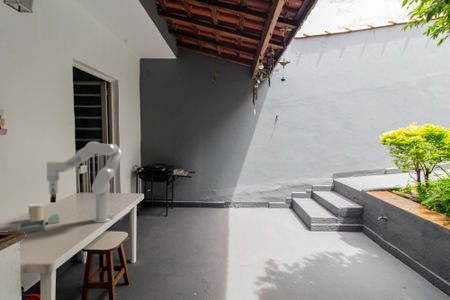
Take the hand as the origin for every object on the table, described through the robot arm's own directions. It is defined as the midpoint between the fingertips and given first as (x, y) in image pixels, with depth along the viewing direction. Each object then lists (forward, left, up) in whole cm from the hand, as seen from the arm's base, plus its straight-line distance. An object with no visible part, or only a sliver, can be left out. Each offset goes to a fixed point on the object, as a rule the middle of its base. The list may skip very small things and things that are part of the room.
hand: (53, 200), depth 176 cm
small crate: (0, 0, -16) cm, 16 cm away
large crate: (+12, +9, -16) cm, 22 cm away
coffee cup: (+11, -12, -16) cm, 23 cm away
